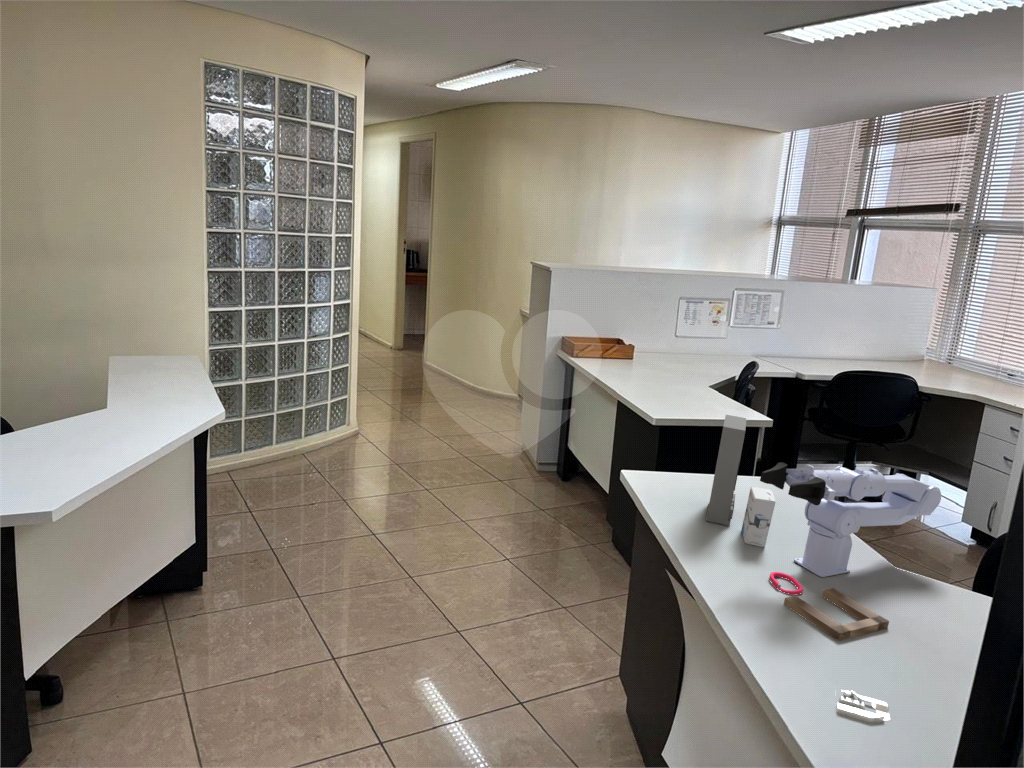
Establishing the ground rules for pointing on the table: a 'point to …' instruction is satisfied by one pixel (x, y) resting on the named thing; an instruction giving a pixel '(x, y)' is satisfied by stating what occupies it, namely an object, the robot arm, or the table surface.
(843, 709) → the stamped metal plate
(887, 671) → the table surface
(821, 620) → the notched board
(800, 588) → the fitness band
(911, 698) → the table surface
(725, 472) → the tall grey pillar
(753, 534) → the ink box
